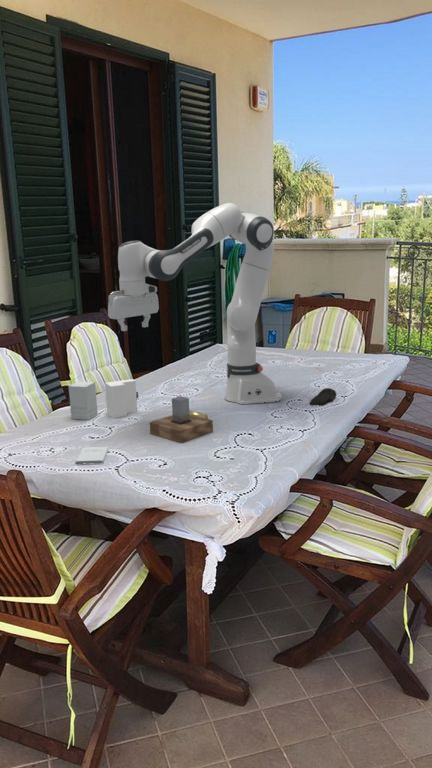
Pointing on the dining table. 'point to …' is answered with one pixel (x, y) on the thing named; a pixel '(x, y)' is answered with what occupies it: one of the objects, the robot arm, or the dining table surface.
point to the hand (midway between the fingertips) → (134, 328)
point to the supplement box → (83, 400)
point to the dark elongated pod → (324, 397)
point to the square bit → (180, 410)
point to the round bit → (198, 414)
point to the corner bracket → (121, 398)
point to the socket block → (181, 428)
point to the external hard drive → (92, 455)
